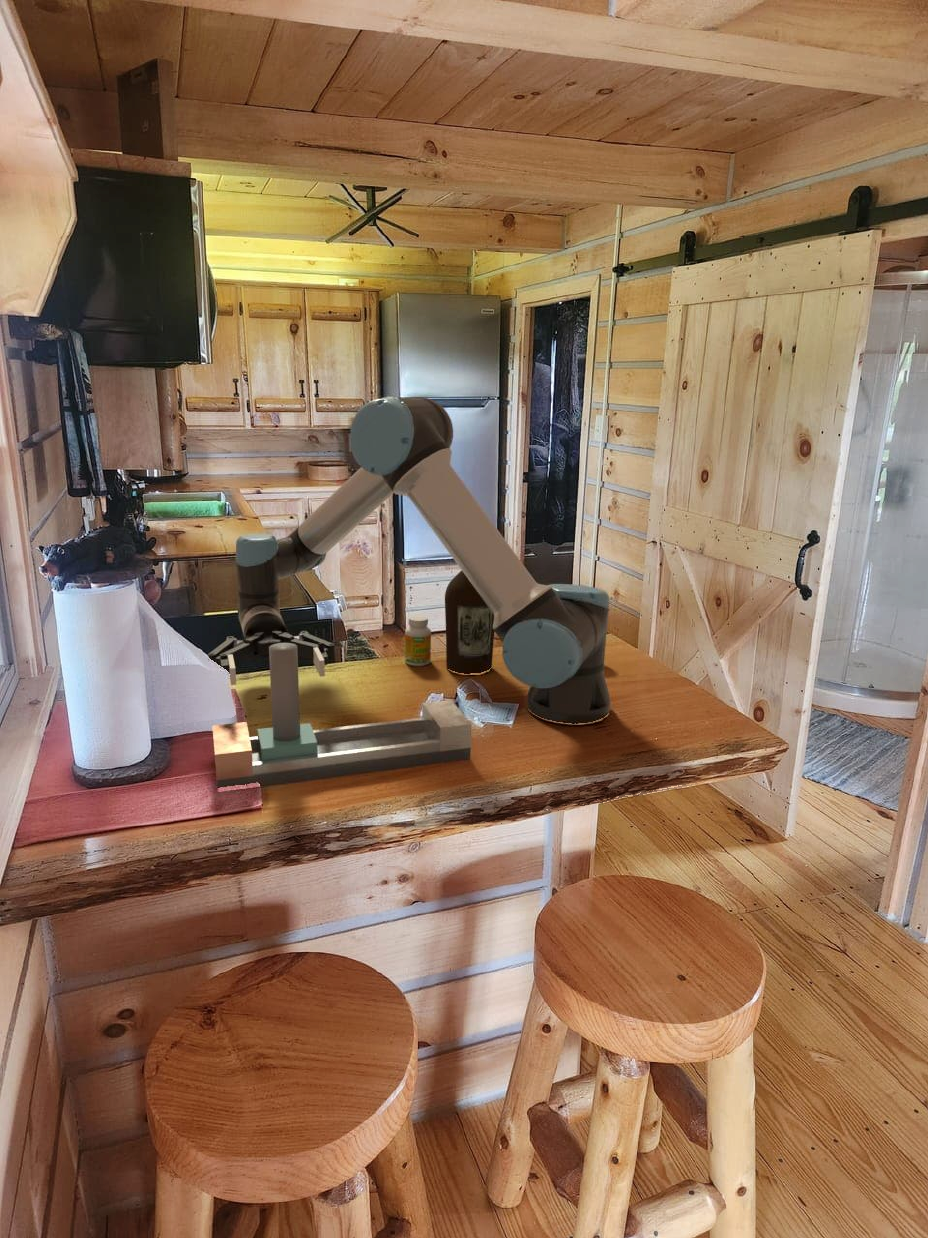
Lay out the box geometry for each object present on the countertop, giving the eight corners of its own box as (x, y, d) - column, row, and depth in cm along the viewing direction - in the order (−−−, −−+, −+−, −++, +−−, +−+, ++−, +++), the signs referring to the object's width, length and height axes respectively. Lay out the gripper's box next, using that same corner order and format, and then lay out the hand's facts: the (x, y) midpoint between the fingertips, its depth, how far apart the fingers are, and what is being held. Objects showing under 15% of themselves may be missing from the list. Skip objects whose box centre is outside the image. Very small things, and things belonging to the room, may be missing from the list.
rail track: (450, 732, 133) (451, 699, 131) (470, 759, 124) (471, 724, 122) (215, 761, 121) (212, 725, 119) (217, 793, 112) (214, 754, 110)
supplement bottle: (411, 668, 162) (411, 622, 160) (400, 659, 167) (401, 615, 164) (434, 664, 165) (435, 620, 162) (424, 656, 169) (424, 613, 167)
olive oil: (438, 661, 167) (440, 544, 160) (487, 658, 169) (491, 543, 162) (449, 679, 157) (451, 555, 150) (500, 676, 159) (505, 554, 152)
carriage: (310, 740, 123) (307, 637, 119) (317, 760, 117) (314, 652, 112) (258, 747, 121) (252, 641, 116) (262, 767, 115) (256, 657, 110)
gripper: (334, 646, 147) (357, 687, 128) (193, 657, 139) (196, 703, 120) (333, 607, 145) (357, 643, 126) (190, 616, 137) (192, 656, 118)
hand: (278, 672), depth 123 cm, fingers open, 13 cm apart
